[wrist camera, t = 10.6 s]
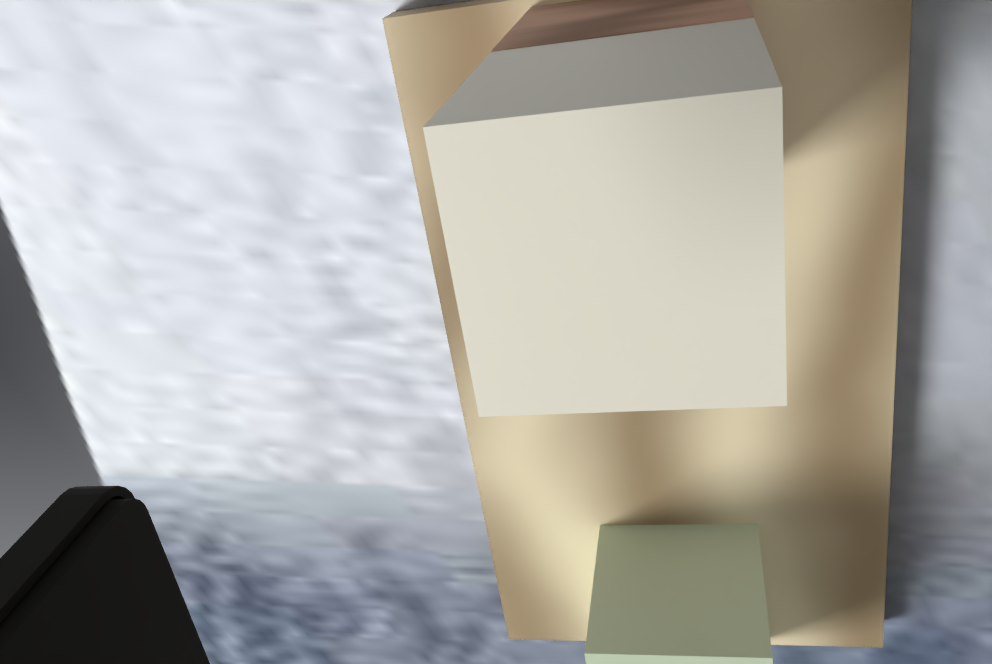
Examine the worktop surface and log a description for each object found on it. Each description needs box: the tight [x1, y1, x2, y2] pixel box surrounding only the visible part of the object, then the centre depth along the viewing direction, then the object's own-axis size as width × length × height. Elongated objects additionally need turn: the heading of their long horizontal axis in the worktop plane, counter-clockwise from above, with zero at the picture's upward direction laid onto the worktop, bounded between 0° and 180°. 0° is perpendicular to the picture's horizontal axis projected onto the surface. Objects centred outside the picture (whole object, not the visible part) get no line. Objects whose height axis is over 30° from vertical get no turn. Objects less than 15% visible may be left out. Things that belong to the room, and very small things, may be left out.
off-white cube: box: [423, 18, 787, 417], centre depth 18 cm, size 6×6×6 cm
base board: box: [383, 0, 912, 647], centre depth 27 cm, size 14×24×7 cm, turn 9°
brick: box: [585, 524, 773, 664], centre depth 31 cm, size 6×6×6 cm
